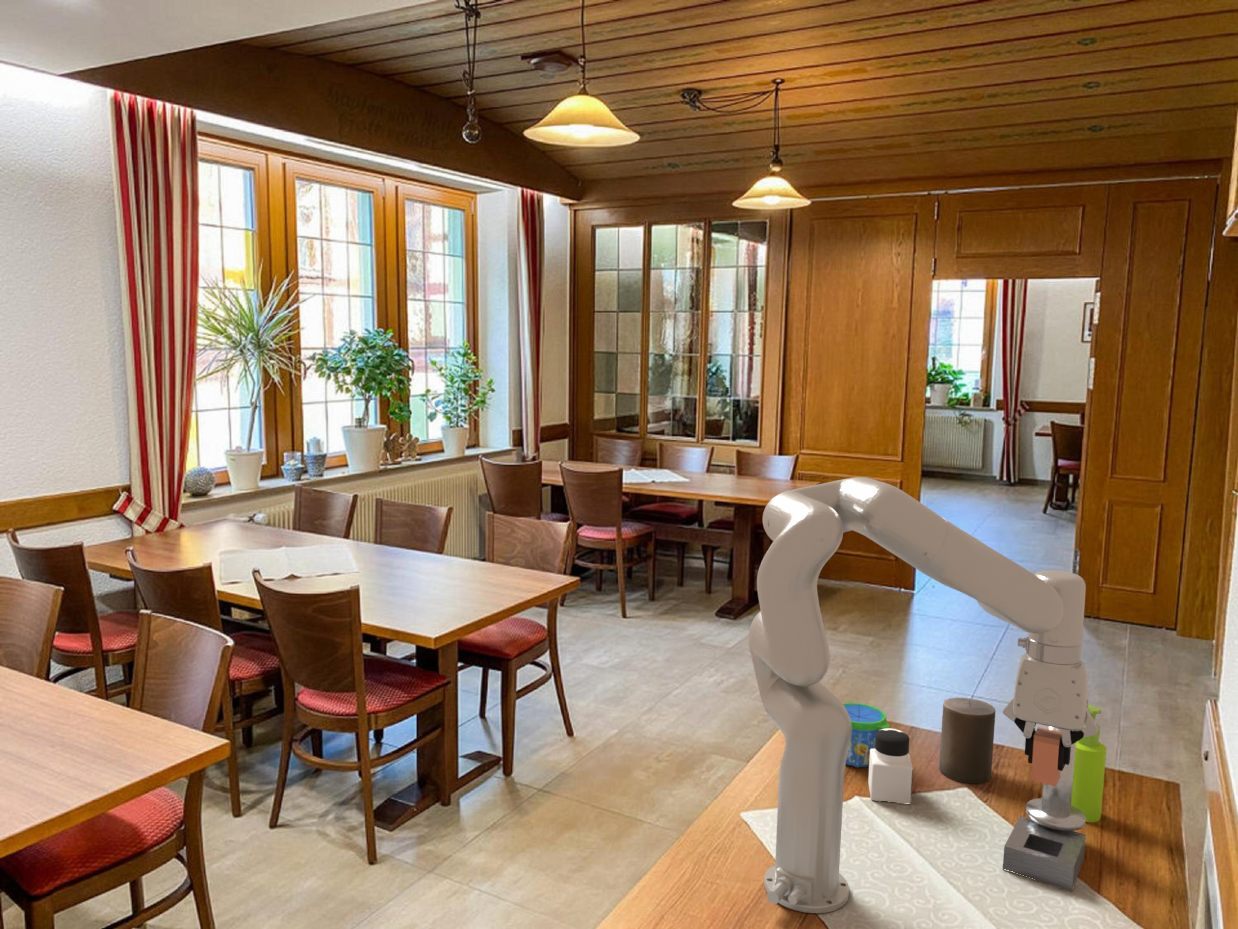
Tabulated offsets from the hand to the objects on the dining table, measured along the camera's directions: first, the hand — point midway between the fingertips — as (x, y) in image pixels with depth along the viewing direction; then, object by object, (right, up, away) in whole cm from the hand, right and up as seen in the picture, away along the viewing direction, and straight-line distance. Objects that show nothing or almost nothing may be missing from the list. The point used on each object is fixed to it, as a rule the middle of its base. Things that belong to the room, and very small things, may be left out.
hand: (1046, 762), depth 142 cm
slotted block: (+3, -17, +6) cm, 18 cm away
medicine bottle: (-17, -15, +26) cm, 34 cm away
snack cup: (-19, -13, +40) cm, 46 cm away
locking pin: (0, -3, 0) cm, 3 cm away
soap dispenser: (+16, -16, +20) cm, 30 cm away
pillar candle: (+1, -14, +36) cm, 38 cm away
